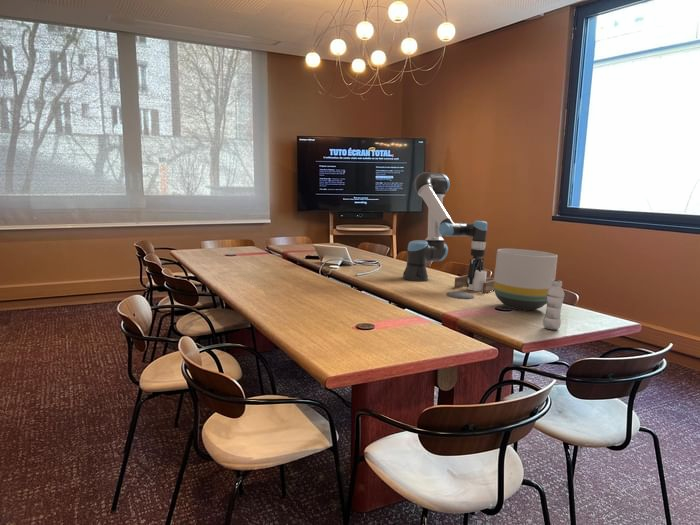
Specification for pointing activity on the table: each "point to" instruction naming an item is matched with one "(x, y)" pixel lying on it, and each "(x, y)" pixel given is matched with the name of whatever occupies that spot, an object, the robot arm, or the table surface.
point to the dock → (463, 281)
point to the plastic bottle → (554, 306)
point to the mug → (479, 280)
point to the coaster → (460, 295)
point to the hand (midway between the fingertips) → (474, 288)
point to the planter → (524, 277)
